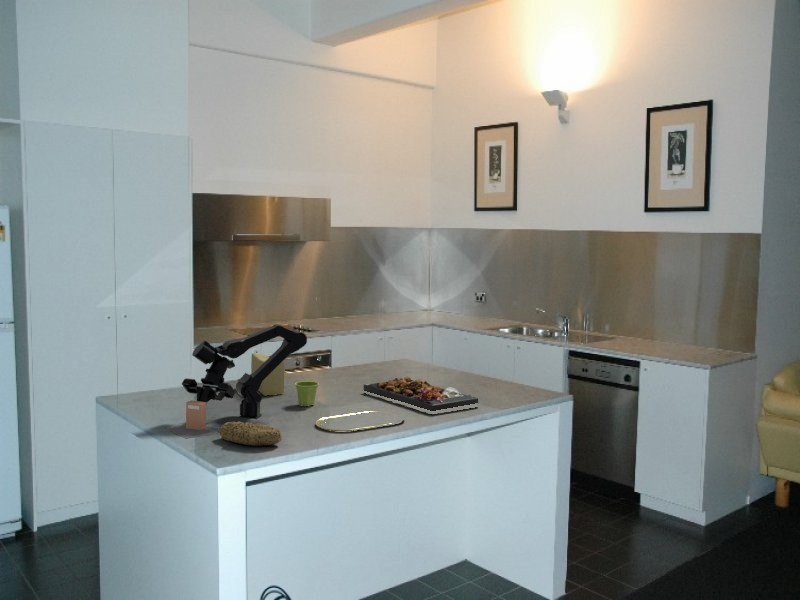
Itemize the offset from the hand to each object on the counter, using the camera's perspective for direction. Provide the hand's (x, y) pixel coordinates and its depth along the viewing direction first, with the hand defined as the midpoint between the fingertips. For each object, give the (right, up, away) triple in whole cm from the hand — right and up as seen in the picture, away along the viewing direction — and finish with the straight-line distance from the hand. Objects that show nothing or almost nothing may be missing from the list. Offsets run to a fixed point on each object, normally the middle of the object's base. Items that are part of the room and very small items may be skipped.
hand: (198, 408), depth 253 cm
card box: (0, -6, -1) cm, 7 cm away
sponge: (+21, -9, -15) cm, 28 cm away
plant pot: (+32, -5, +40) cm, 51 cm away
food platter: (+77, -5, +55) cm, 95 cm away
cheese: (+11, -2, +64) cm, 65 cm away
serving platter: (+55, -8, +15) cm, 58 cm away
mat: (-1, -7, -4) cm, 8 cm away
